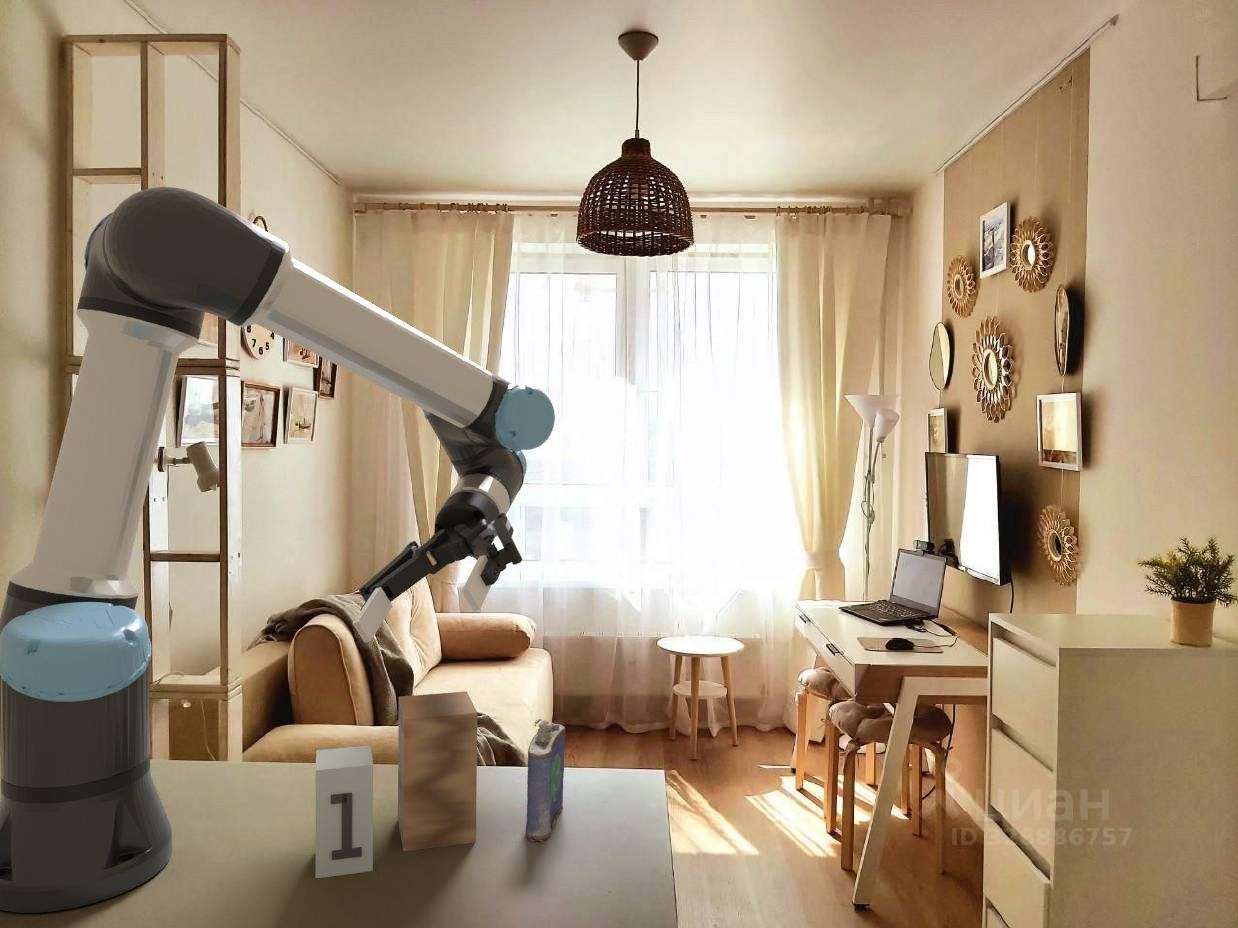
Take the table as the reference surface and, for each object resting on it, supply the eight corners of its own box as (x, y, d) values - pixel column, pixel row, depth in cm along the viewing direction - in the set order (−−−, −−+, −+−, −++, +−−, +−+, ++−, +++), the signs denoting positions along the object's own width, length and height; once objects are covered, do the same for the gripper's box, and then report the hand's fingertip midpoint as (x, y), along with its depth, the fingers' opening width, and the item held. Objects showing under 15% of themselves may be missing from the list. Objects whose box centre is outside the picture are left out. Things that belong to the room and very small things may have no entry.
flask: (547, 843, 89) (548, 737, 88) (518, 840, 89) (519, 735, 89) (566, 803, 98) (567, 707, 97) (540, 801, 98) (541, 705, 98)
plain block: (403, 851, 87) (404, 718, 86) (397, 819, 93) (398, 696, 93) (475, 841, 89) (477, 712, 88) (465, 811, 96) (466, 691, 95)
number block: (315, 879, 81) (315, 771, 81) (316, 852, 86) (316, 750, 86) (372, 871, 83) (373, 765, 82) (370, 845, 88) (370, 745, 87)
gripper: (573, 512, 111) (535, 615, 92) (403, 565, 118) (336, 671, 99) (547, 460, 108) (502, 556, 89) (375, 518, 115) (300, 618, 96)
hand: (414, 616), depth 94 cm, fingers open, 13 cm apart
